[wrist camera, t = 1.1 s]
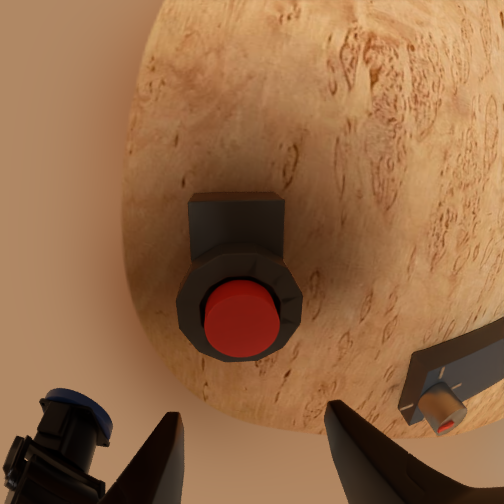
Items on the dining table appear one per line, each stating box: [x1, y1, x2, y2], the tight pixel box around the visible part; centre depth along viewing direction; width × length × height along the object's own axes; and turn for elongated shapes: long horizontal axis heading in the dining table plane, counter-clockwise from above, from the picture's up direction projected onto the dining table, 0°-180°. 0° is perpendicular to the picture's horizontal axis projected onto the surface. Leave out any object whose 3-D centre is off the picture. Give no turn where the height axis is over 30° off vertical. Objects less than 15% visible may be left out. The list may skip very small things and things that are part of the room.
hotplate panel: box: [398, 318, 504, 426], centre depth 25 cm, size 20×8×3 cm, turn 96°
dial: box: [418, 382, 467, 436], centre depth 21 cm, size 4×4×4 cm
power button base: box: [176, 192, 303, 362], centre depth 18 cm, size 9×6×5 cm
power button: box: [204, 280, 280, 357], centre depth 15 cm, size 4×4×2 cm
